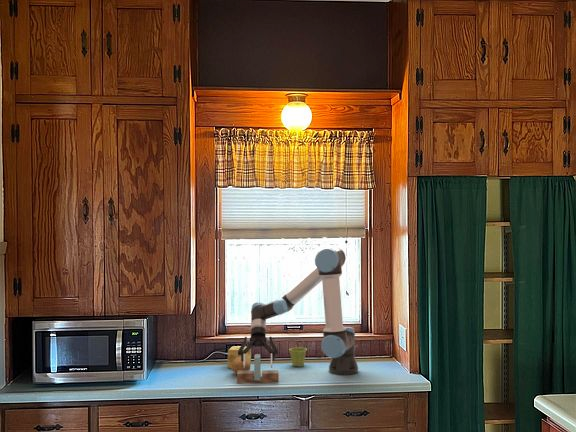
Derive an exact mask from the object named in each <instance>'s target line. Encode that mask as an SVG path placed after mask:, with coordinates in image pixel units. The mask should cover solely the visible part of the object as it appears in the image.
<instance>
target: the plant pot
mask: <svg viewBox="0 0 576 432" xmlns="http://www.w3.org/2000/svg"><path fill="white" fill-rule="evenodd" d="M288 350H289V351H290V352H289V353H290V357H291V364H292V366H293V367H298V368H299V367H303V366H304V365H305V360H306V359H305V357H306V353H307V350H308V348H305V347H292V348H289V349H288Z"/></svg>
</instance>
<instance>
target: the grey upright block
mask: <svg viewBox="0 0 576 432" xmlns="http://www.w3.org/2000/svg"><path fill="white" fill-rule="evenodd" d="M253 356H254V359H253V369H254V370H253V371H254V380H260V377H262V369H261V364H262V363H261V353H255V354H254V355H253Z"/></svg>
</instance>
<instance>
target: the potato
mask: <svg viewBox="0 0 576 432" xmlns="http://www.w3.org/2000/svg"><path fill="white" fill-rule="evenodd" d="M231 369H232V371H233V373H235V374H236V375H237V372H238V371H251V363H249V361H248V360H246V359H245V368H243V362H242V361H241V357H237V358H236V359H235V360H234V361H233V364H232V368H231Z"/></svg>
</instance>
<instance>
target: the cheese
mask: <svg viewBox="0 0 576 432" xmlns="http://www.w3.org/2000/svg"><path fill="white" fill-rule="evenodd" d="M247 346H248V345H246V346H245V347H244V349H245V348H246V347H247ZM240 347H241V346H235V345H233V346H231V347H230V348H229V349H228V350H227V367H228V369H232V364H233V361H234V360H235V359H236V358H237V357H241V355H238V350H239V348H240ZM244 349H243V350H244ZM245 359H246V360H248V361H249V363H250V364H251V362H252V361H251V360H252V348H251V349H250V350H249V351H248V352H247V353H246V354H245Z"/></svg>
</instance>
